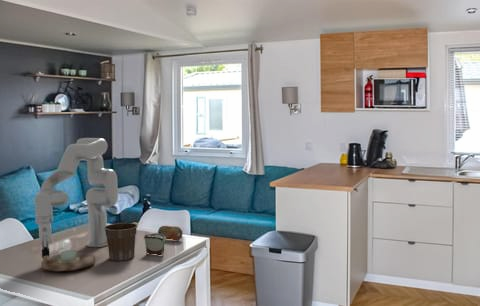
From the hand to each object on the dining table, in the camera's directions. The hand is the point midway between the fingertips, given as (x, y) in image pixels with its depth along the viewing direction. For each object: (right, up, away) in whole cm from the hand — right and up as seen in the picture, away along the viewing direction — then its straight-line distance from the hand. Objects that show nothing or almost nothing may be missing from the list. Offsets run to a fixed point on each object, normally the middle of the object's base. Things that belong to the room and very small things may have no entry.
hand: (45, 257), depth 218 cm
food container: (+50, -3, +19) cm, 53 cm away
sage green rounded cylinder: (+11, -1, -1) cm, 11 cm away
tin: (+52, -1, +45) cm, 69 cm away
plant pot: (+33, -3, +13) cm, 35 cm away
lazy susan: (+11, -3, 0) cm, 11 cm away
